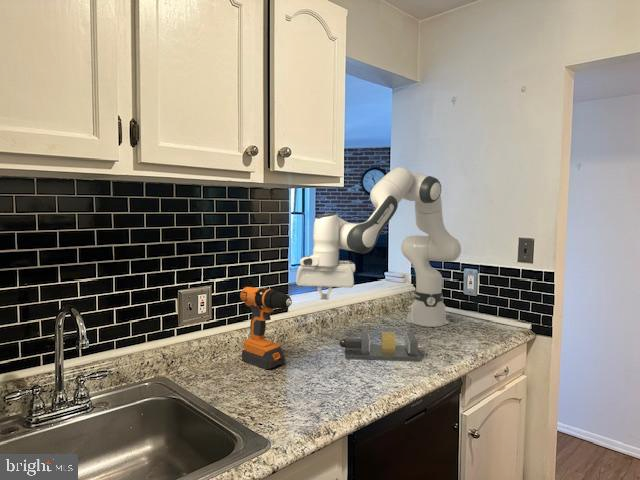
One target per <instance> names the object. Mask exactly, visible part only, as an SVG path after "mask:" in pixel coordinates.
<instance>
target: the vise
mask: <svg viewBox="0 0 640 480" xmlns="http://www.w3.org/2000/svg"><path fill="white" fill-rule="evenodd" d="M404 340H405V341H404V345H400V344H399V345H397V344H395V353H389V352H382V350H381V344H376V343H375V344H373V343H370V352H369V354H361V349H356V348H344V359H345V360H361V361H362V360H363V361H364V360H367V361H392V362H393V361H394V362H395V361H396V362H420V359H421V357H420V355H419V353H418V351H419V350H418V349H419V348H418V346H419V345H418V344H419V341H418V339H417V336H416V335H415V333H409V332H408V333H406V334H405V338H404Z"/></svg>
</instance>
